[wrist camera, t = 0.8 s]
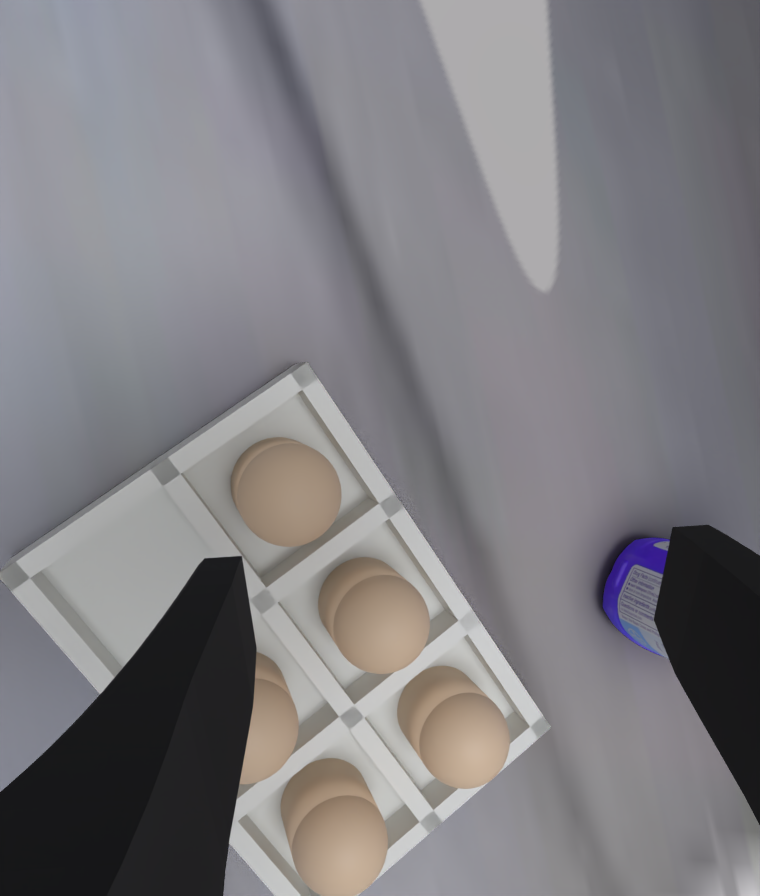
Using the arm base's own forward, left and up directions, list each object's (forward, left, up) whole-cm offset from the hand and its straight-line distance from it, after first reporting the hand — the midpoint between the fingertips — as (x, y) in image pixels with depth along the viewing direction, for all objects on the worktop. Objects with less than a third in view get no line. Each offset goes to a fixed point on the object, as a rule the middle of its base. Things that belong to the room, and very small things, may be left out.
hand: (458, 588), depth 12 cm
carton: (-4, -7, -20) cm, 22 cm away
